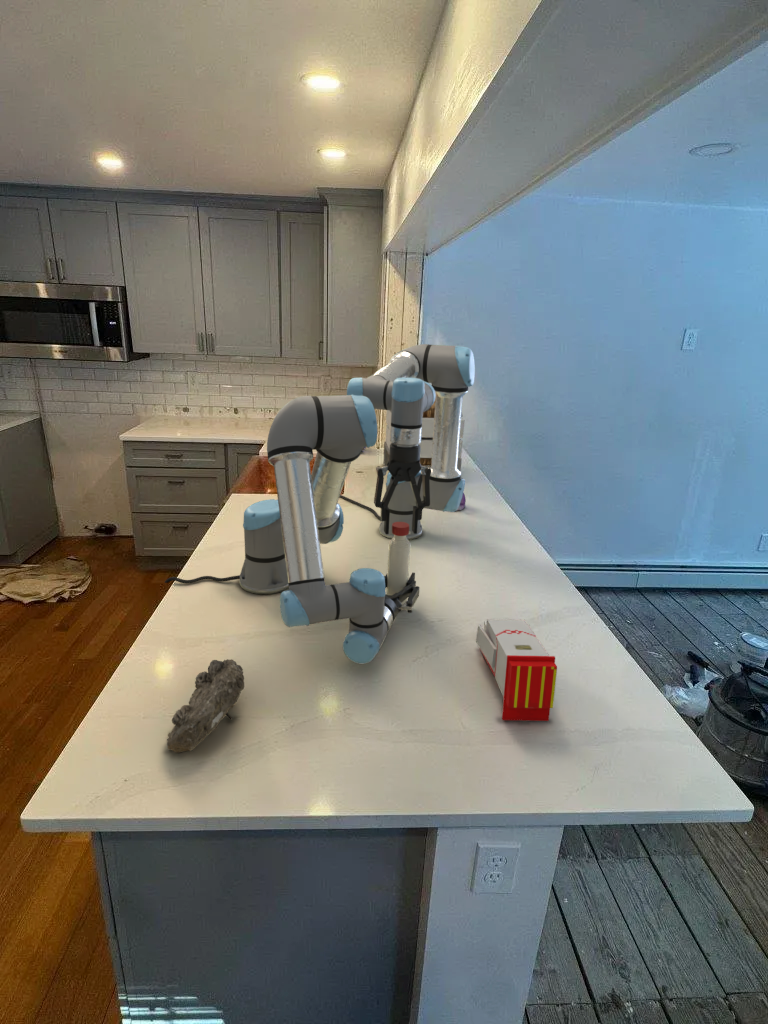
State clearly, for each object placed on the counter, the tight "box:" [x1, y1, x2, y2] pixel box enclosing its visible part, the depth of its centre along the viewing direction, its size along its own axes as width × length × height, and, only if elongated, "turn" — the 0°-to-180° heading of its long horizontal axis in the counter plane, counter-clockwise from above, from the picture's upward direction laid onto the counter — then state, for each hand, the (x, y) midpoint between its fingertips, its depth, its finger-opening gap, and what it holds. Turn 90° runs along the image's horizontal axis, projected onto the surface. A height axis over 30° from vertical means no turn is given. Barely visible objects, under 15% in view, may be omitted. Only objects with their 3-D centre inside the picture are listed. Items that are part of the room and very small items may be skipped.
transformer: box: [383, 401, 465, 472], centre depth 268 cm, size 34×33×41 cm
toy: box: [475, 618, 558, 722], centre depth 122 cm, size 12×13×30 cm
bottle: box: [385, 535, 411, 604], centre depth 148 cm, size 6×6×22 cm
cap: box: [392, 522, 409, 536], centre depth 145 cm, size 4×4×2 cm
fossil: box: [166, 658, 245, 754], centre depth 106 cm, size 22×10×15 cm
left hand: (402, 575), depth 155 cm, fingers closed on bottle, 6 cm apart
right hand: (400, 531), depth 145 cm, fingers open, 7 cm apart
